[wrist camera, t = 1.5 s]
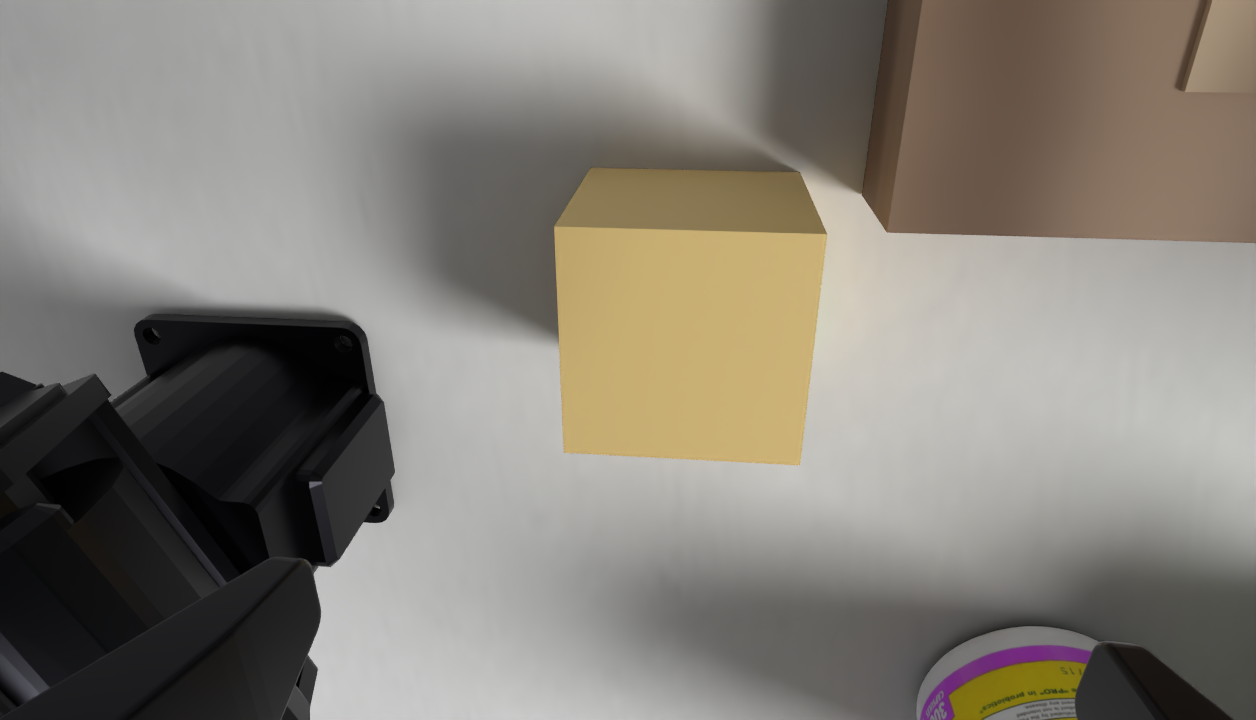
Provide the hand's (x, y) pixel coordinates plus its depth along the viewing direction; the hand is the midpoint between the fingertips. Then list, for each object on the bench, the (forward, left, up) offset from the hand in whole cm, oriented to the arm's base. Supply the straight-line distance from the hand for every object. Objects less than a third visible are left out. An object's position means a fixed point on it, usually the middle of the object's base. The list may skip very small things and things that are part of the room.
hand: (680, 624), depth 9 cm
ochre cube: (0, 0, -12) cm, 12 cm away
